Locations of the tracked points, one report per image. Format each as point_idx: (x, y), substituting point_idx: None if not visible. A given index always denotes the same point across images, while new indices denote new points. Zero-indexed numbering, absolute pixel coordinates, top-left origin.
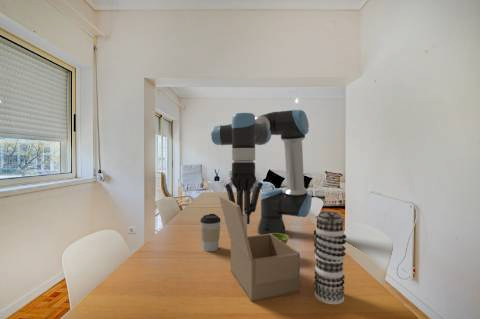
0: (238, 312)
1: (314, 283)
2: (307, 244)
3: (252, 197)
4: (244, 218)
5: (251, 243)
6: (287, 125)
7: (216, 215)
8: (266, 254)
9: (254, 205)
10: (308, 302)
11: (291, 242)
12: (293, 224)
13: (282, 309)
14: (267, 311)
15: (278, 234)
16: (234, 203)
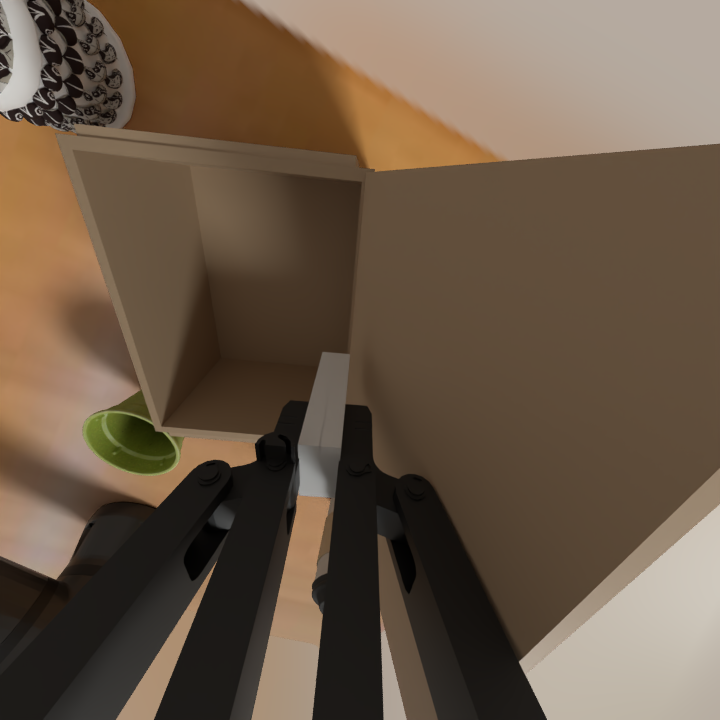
0: (439, 135)
1: (100, 97)
2: (42, 430)
3: (125, 682)
4: (327, 425)
5: (262, 413)
6: None
7: (322, 610)
8: (217, 378)
9: (169, 527)
10: (178, 67)
11: (96, 457)
12: (51, 548)
13: (293, 73)
14: (348, 89)
15: (121, 463)
16: (666, 527)
